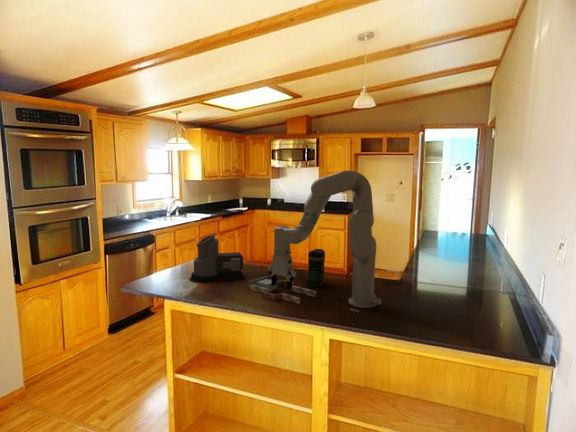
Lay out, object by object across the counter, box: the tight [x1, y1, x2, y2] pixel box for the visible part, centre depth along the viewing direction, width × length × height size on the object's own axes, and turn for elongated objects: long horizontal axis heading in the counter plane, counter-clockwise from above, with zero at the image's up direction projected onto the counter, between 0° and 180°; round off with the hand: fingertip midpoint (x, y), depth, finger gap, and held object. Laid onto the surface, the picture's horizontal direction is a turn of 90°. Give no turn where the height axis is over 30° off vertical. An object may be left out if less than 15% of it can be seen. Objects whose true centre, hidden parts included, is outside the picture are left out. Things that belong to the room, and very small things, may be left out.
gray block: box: [257, 278, 278, 291], centre depth 191 cm, size 7×7×4 cm
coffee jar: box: [307, 248, 326, 288], centre depth 198 cm, size 10×8×19 cm
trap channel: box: [247, 275, 317, 305], centre depth 186 cm, size 32×21×4 cm
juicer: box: [188, 233, 246, 284], centre depth 209 cm, size 30×16×24 cm, turn 106°
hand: (281, 286), depth 185 cm, fingers open, 9 cm apart
